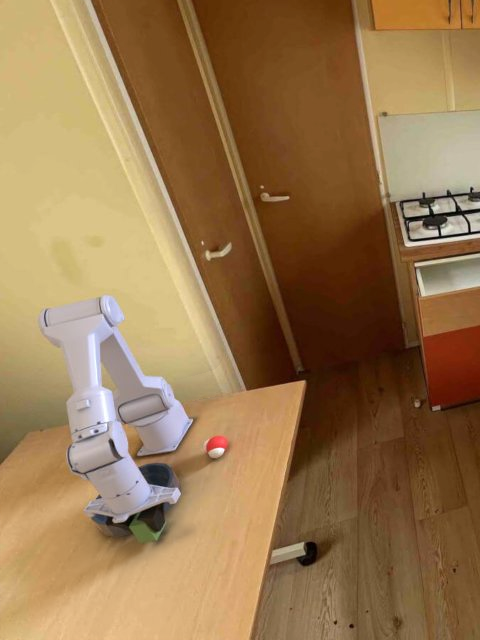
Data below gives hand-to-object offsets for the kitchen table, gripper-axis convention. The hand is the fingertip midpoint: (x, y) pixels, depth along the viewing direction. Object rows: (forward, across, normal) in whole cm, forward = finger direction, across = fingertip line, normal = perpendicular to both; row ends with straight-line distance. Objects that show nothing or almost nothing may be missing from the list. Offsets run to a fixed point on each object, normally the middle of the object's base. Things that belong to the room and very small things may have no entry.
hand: (151, 528), depth 82 cm
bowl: (+2, -6, +7) cm, 10 cm away
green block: (+1, 0, 0) cm, 1 cm away
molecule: (+2, +4, +18) cm, 19 cm away
